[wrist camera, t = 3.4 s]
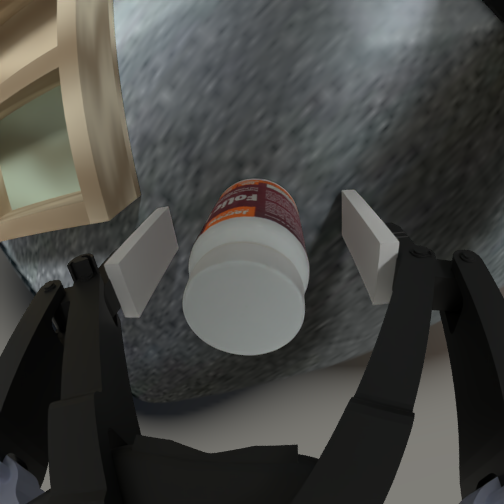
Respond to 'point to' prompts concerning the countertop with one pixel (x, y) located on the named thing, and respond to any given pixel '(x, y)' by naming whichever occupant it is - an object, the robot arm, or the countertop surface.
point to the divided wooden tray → (61, 118)
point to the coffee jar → (496, 7)
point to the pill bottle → (248, 271)
